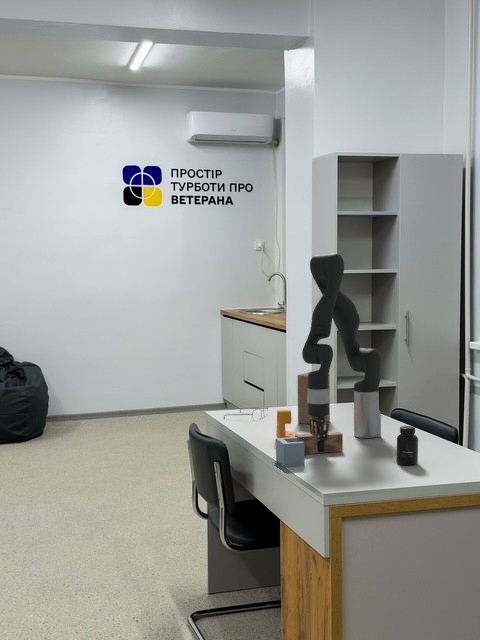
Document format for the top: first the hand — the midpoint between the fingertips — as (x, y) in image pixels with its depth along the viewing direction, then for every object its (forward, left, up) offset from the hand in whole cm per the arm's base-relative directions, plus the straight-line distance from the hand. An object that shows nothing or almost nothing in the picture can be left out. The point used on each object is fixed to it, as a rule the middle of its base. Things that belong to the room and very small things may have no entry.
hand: (318, 450), depth 282 cm
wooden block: (-16, -52, -1) cm, 54 cm away
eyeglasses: (+7, -73, -1) cm, 73 cm away
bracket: (+5, -20, -1) cm, 21 cm away
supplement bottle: (-22, +24, -1) cm, 33 cm away
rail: (0, 0, -1) cm, 1 cm away
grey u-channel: (+14, +12, -1) cm, 19 cm away
